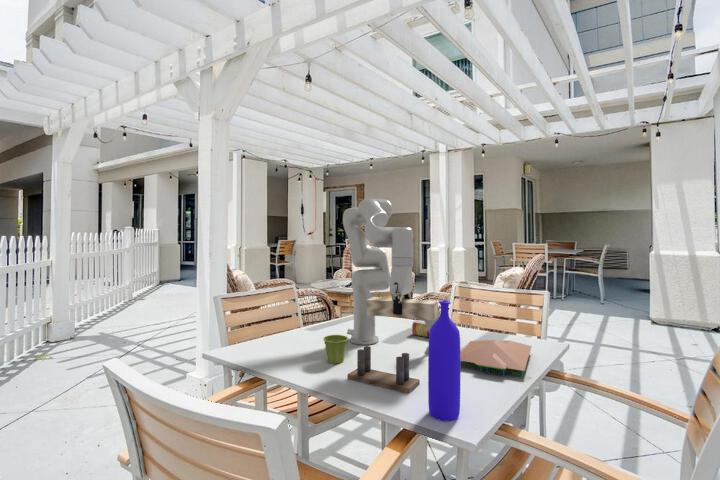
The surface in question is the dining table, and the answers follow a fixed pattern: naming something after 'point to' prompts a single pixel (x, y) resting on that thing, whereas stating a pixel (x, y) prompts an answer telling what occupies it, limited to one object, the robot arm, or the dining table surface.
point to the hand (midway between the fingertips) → (402, 312)
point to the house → (496, 355)
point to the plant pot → (335, 348)
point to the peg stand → (384, 373)
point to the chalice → (429, 325)
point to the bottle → (444, 367)
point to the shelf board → (403, 308)
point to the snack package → (420, 328)
